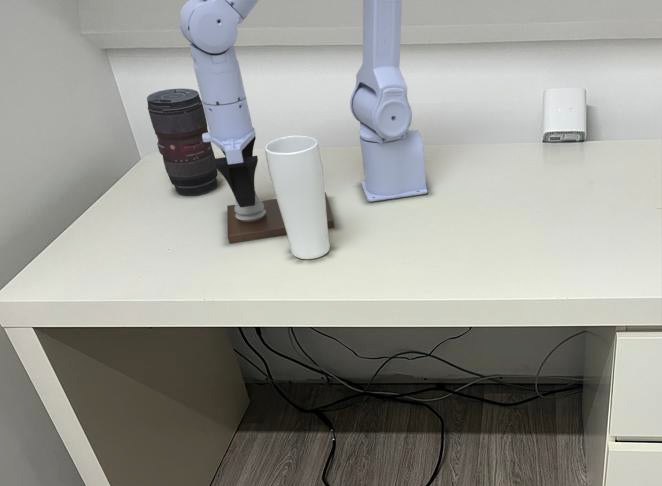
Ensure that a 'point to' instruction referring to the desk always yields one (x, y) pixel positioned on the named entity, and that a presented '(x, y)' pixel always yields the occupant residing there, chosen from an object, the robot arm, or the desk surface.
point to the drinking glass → (300, 193)
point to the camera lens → (183, 140)
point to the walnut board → (263, 223)
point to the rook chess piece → (250, 211)
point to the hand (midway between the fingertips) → (246, 195)
